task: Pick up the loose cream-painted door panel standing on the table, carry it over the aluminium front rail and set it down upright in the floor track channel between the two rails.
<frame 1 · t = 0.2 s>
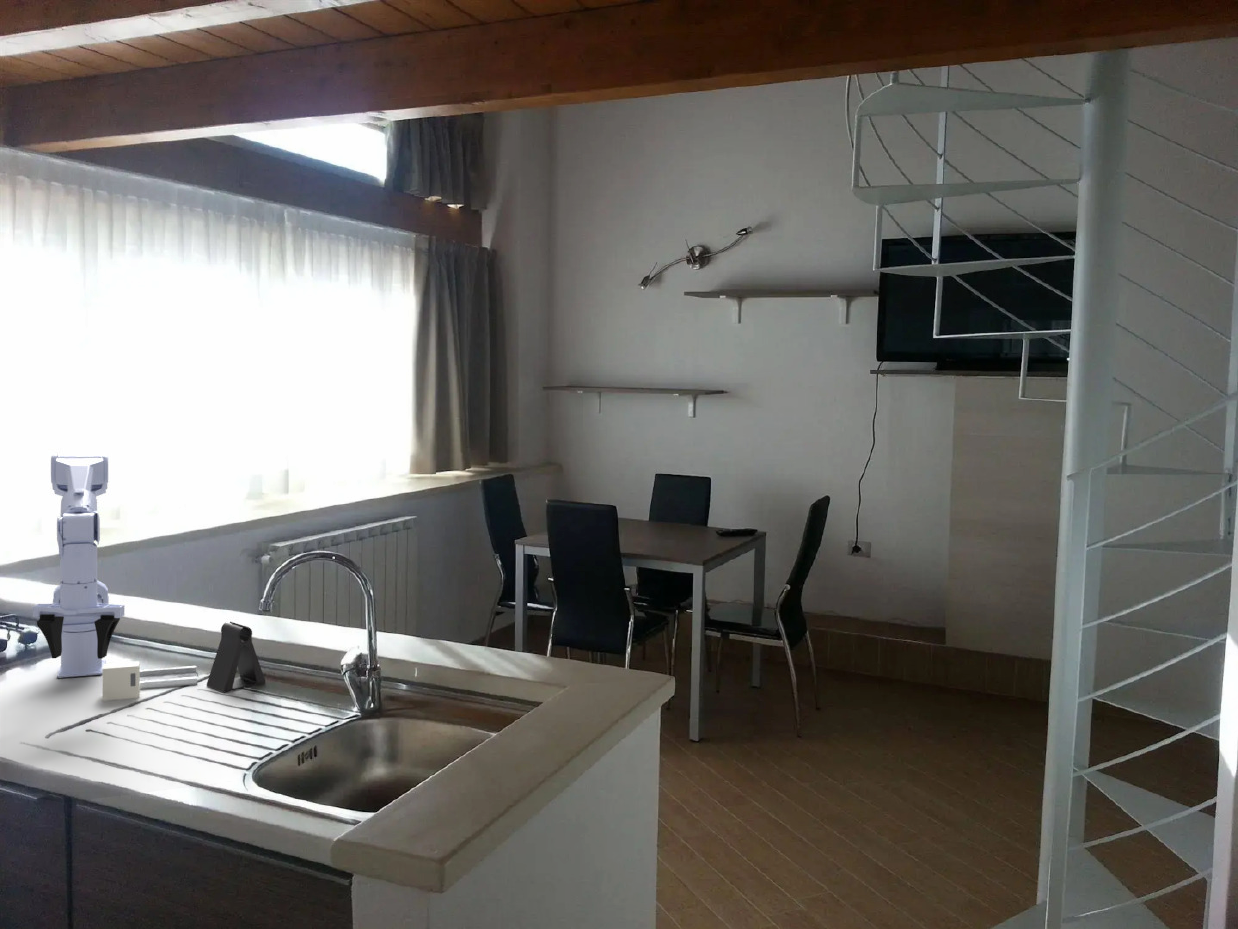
hand: (79, 657, 172), 10 cm above the worktop, fingers open, 7 cm apart
dark grey hinged stand: (236, 686, 191), on the worktop
door panel: (121, 696, 182), on the worktop
floor track: (152, 681, 191), on the worktop
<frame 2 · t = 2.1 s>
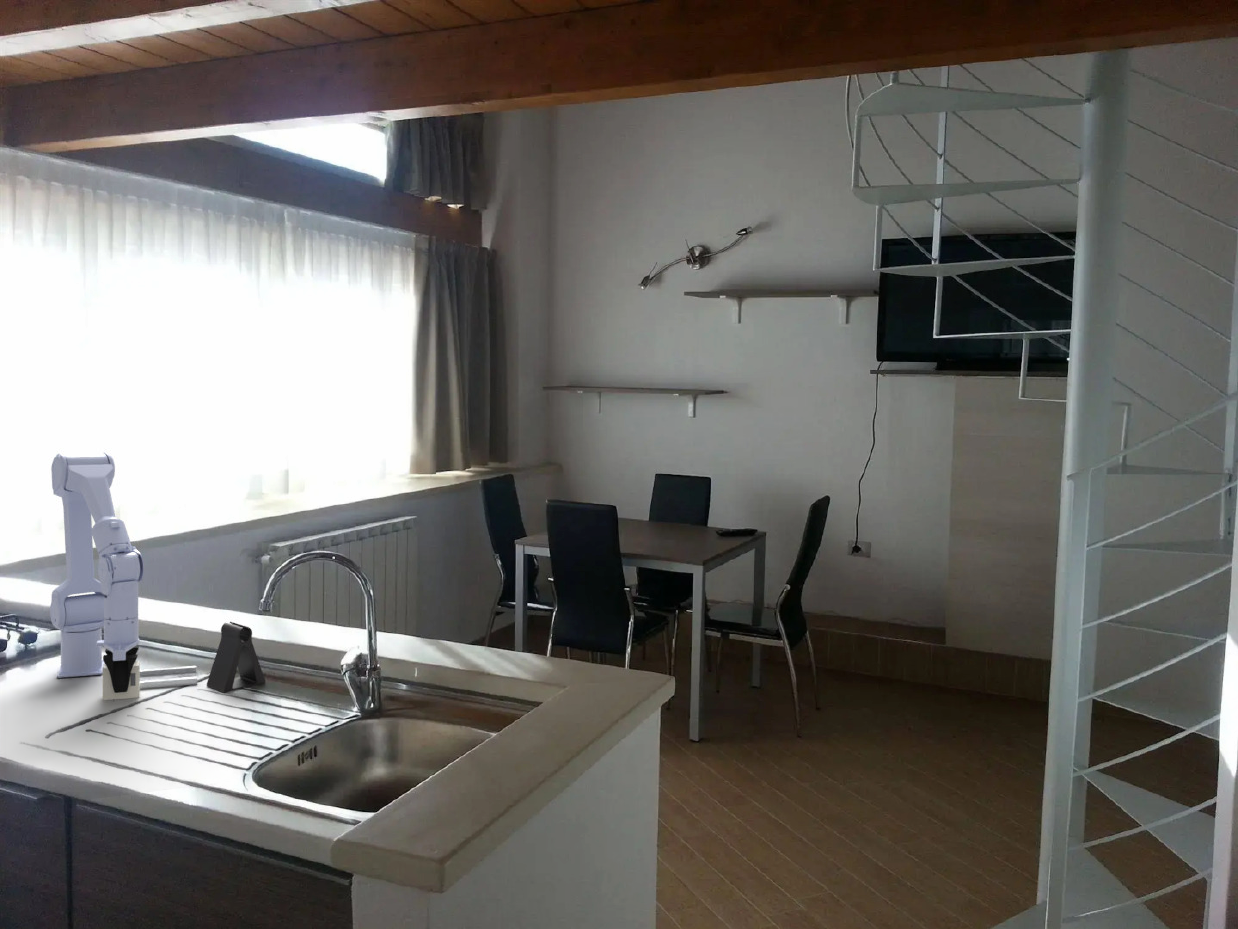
hand: (121, 688, 182), 1 cm above the worktop, fingers closed on door panel, 3 cm apart
door panel: (121, 696, 182), on the worktop, touching gripper
everything else where it was.
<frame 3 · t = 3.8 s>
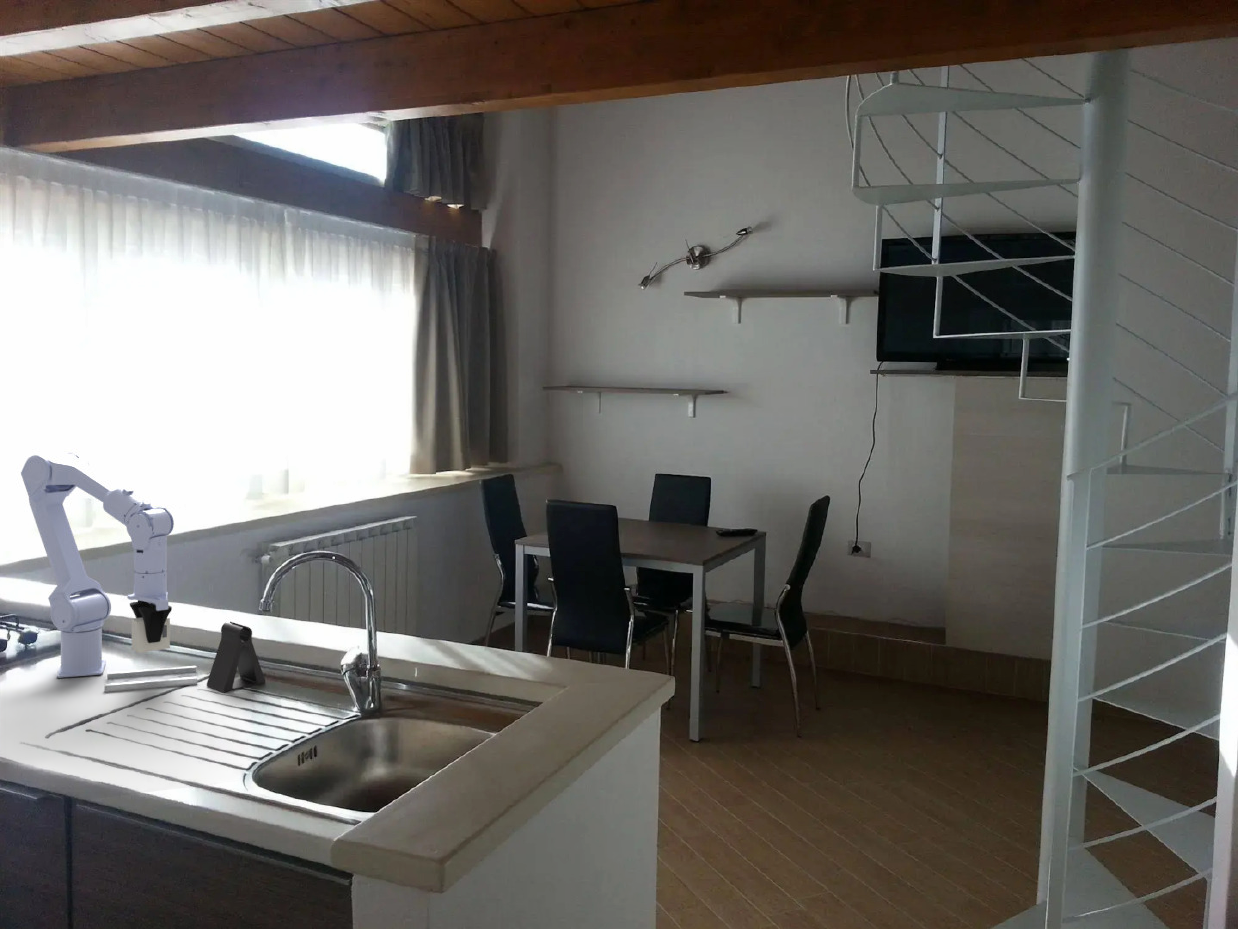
hand: (150, 640, 190), 8 cm above the worktop, fingers closed on door panel, 3 cm apart
door panel: (150, 648, 190), point 7 cm above the worktop, touching gripper
everything else where it was.
when the fingers open (2 cm above the worktop, at t = 5.7 s): door panel stays where it is, resting on floor track.
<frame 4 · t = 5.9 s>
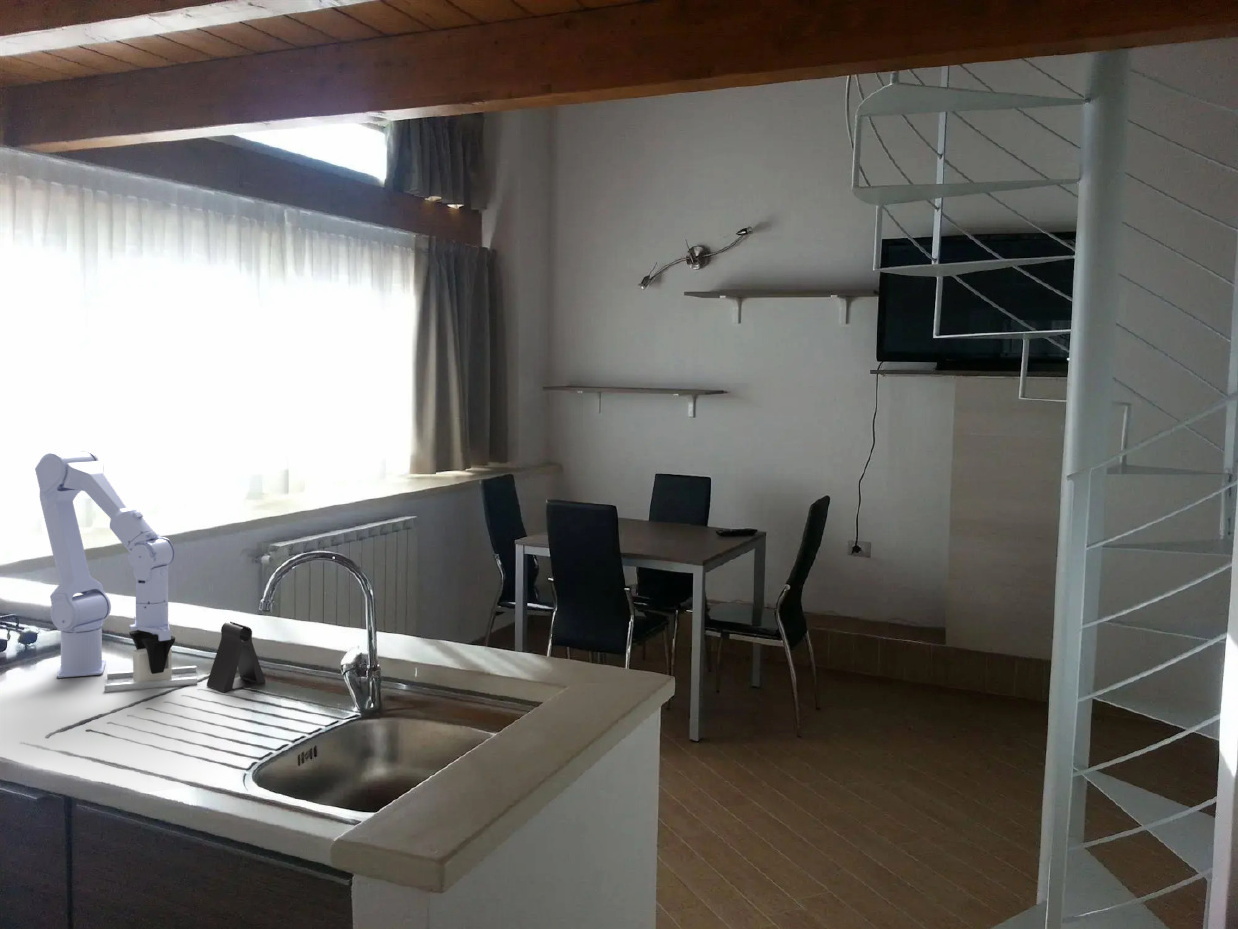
hand: (152, 669, 191), 2 cm above the worktop, fingers open, 5 cm apart
door panel: (152, 679, 191), resting on floor track
everything else where it was.
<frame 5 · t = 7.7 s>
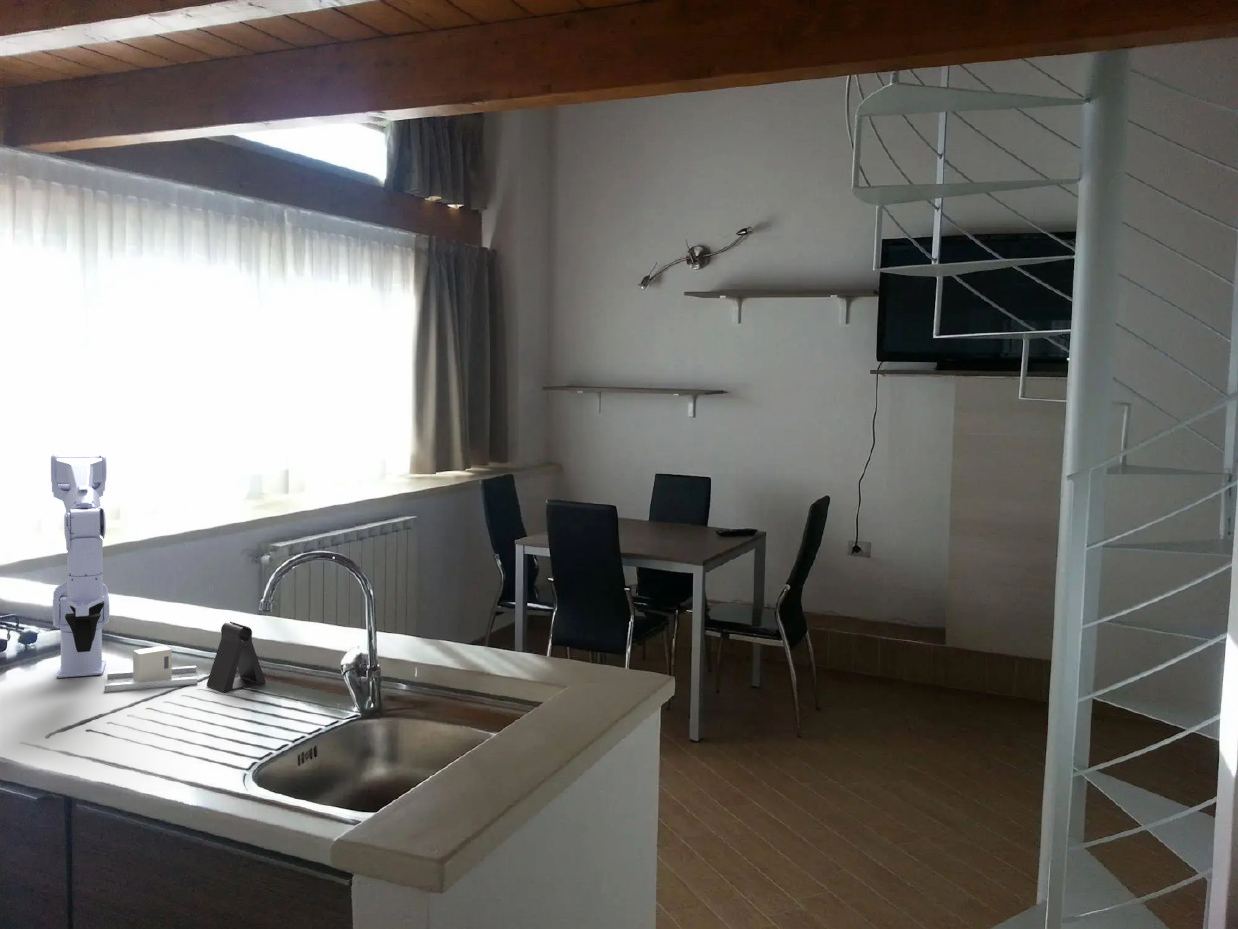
hand: (85, 646, 181), 9 cm above the worktop, fingers open, 7 cm apart
nothing on the worktop moved.
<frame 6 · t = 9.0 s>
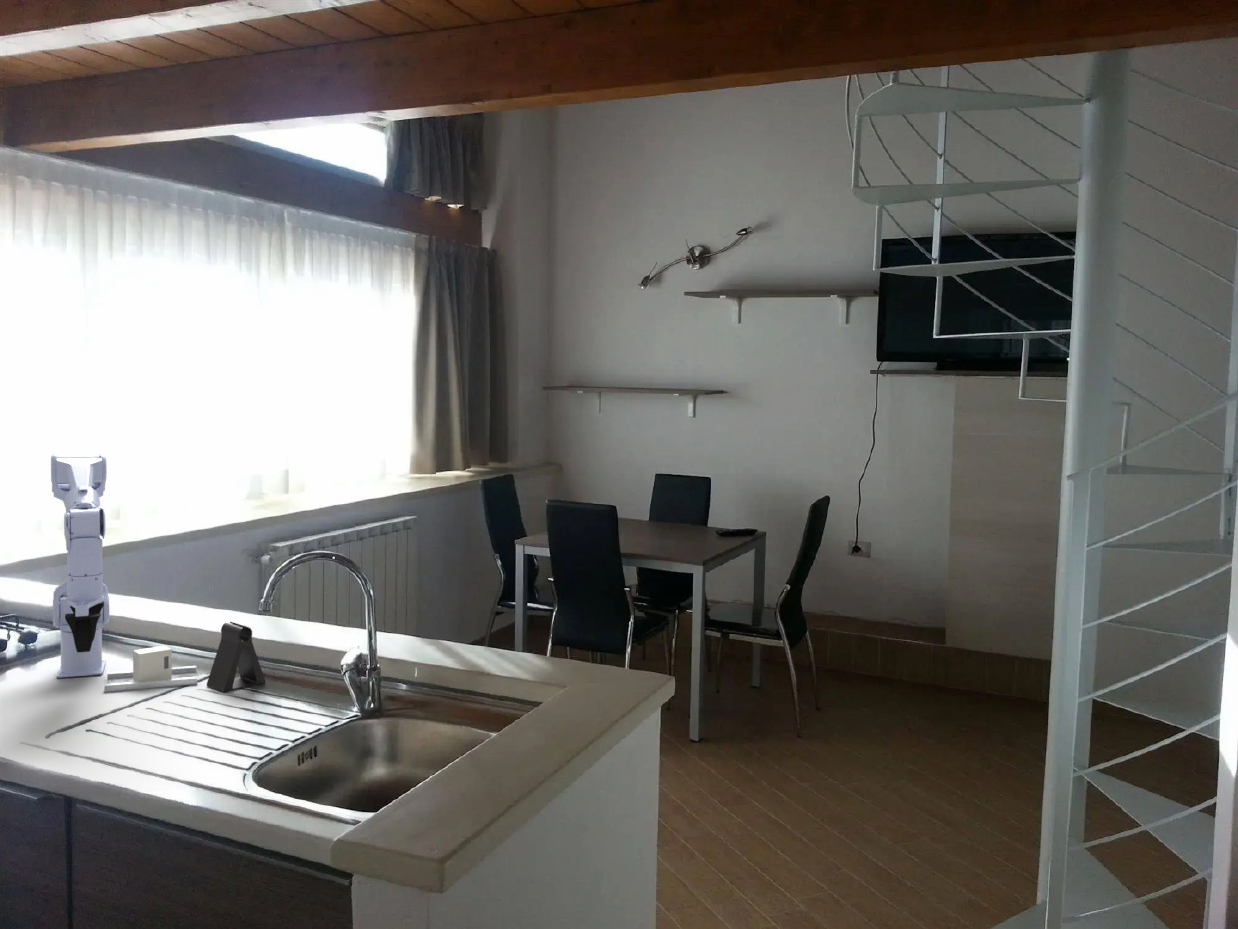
hand: (85, 646, 181), 9 cm above the worktop, fingers open, 7 cm apart
nothing on the worktop moved.
at the end: door panel inside the target area on the floor track (0.1 cm from its centre), point 0.3 cm above the floor track's base; door panel tilted 0°; the gripper is holding nothing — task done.
